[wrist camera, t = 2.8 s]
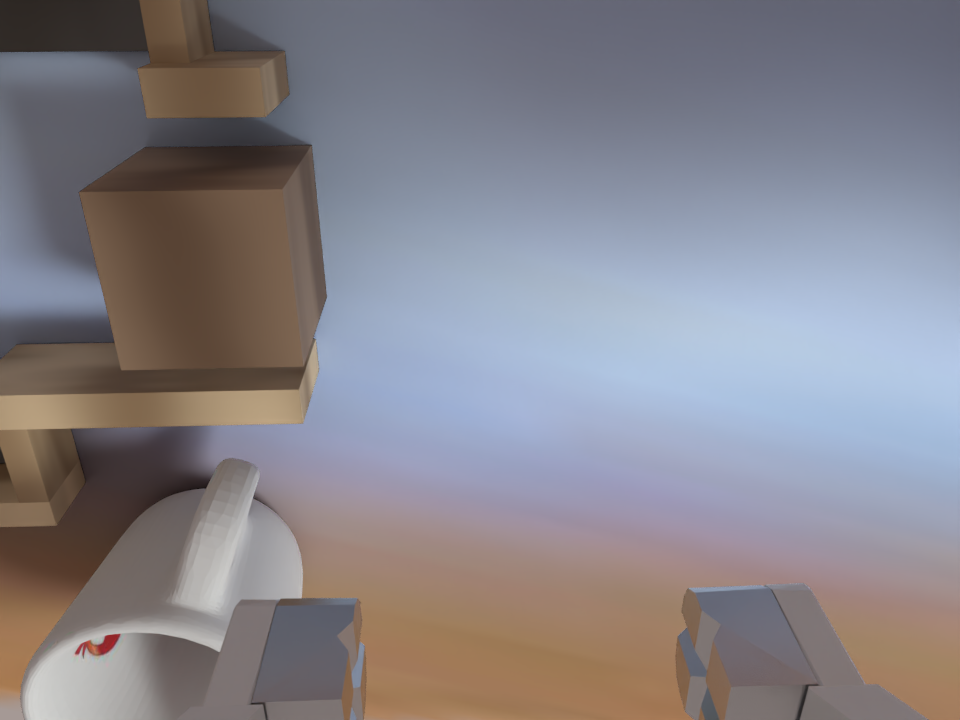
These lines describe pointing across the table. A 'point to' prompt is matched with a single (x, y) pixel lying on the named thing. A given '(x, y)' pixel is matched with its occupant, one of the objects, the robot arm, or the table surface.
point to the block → (209, 256)
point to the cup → (164, 605)
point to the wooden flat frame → (95, 366)
